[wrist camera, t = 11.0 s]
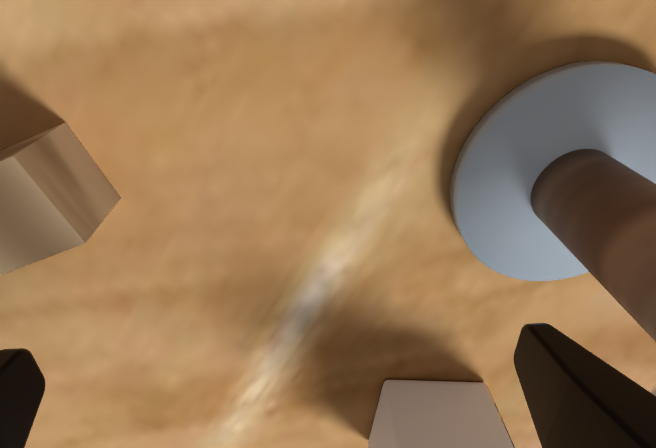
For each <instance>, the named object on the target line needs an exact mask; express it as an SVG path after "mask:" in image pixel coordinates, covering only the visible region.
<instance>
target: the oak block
mask: <svg viewBox="0 0 656 448" xmlns="http://www.w3.org/2000/svg"><path fill="white" fill-rule="evenodd" d="M120 199H121V197H120V196H119V194H118V193H117V191H116V190H115V189H114V187H113V186H112V185H111V183H110V182H109V180H108V179H107V178H106V176H105V175H104V174H103V172H102V171H101V169H100V168H99V167H98V165H97V164H96V163H95V161H94V160H93V158H92V157H91V156H90V154H89V153H88V152H87V150H86V149H85V147H84V146H83V145H82V143H81V142H80V141H79V139H78V138H77V136H76V135H75V134H74V132H73V131H72V130H71V128H70V127H69V126H68V124H67V123H66V122H64V123H62V124H60V125H58V126H55V127H53V128H51V129H48V130H46V131H44V132H41V133H39V134H37V135H34V136H32V137H30V138H28V139H25V140H23V141H21V142H18V143H16V144H14V145H11V146H9V147H7V148H4V149H2V150H0V272H1V273H2V274H5V273H8V272H11V271H13V270H16V269H19V268H21V267H24V266H26V265H29V264H32V263H34V262H37V261H40V260H42V259H45V258H47V257H50V256H53V255H55V254H58V253H60V252H63V251H66V250H68V249H71V248H74V247H76V246H79V245H81V244H84V243H86V242H87V240H88V239H89V238H90V237H91V235H92V234H93V233H94V231H95V230H96V229H97V228H98V226H99V225H100V224H101V223H102V221H103V220H104V219H105V218H106V216H107V215H108V214H109V213H110V211H111V210H112V209H113V208H114V206H115V205H116V204H117V203H118V201H119V200H120Z"/></svg>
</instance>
